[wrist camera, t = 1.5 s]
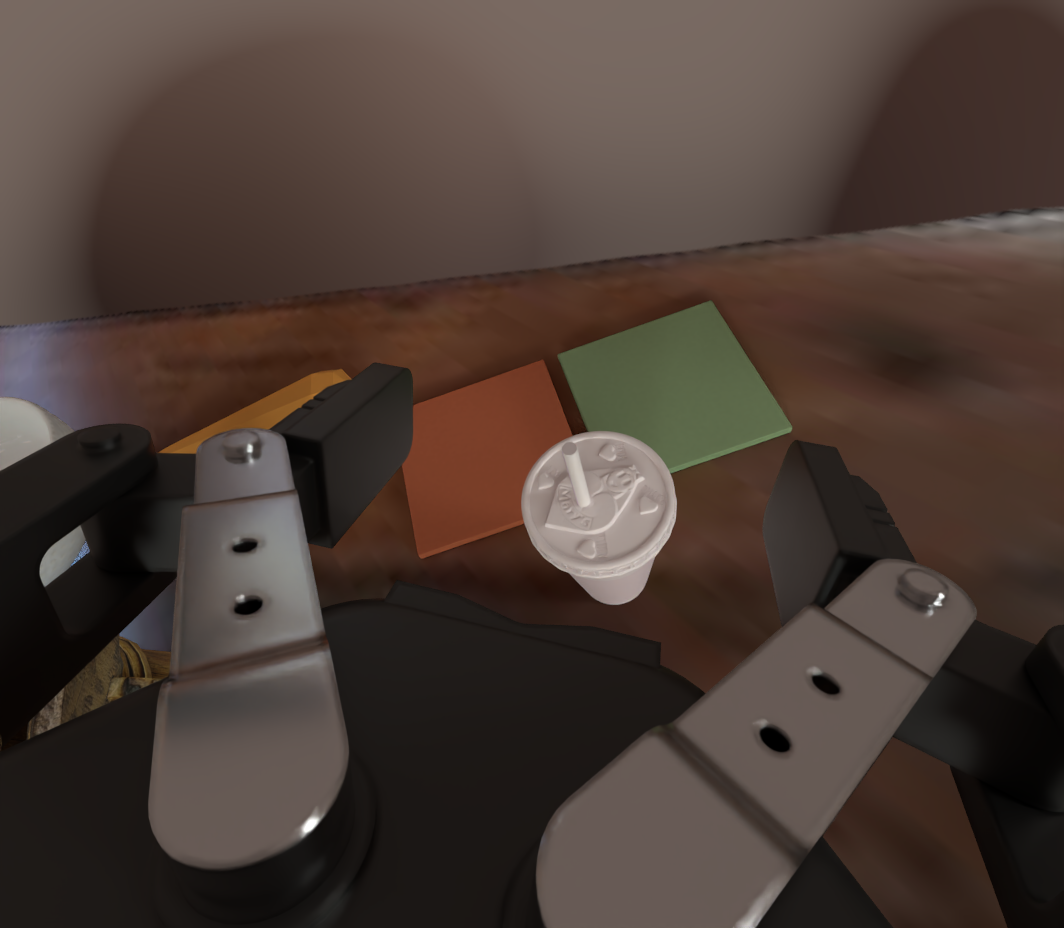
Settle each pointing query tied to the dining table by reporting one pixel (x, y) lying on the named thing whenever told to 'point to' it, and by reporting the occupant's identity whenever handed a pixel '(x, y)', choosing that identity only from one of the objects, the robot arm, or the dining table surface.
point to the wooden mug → (99, 685)
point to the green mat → (675, 388)
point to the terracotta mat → (478, 456)
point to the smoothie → (600, 511)
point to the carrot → (264, 409)
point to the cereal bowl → (13, 434)
